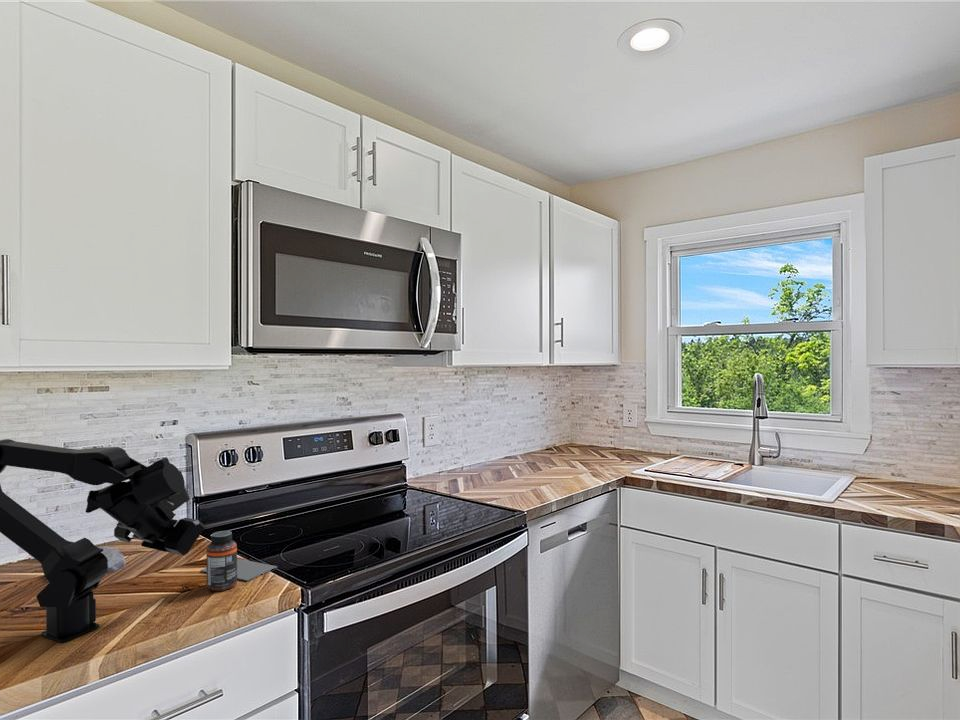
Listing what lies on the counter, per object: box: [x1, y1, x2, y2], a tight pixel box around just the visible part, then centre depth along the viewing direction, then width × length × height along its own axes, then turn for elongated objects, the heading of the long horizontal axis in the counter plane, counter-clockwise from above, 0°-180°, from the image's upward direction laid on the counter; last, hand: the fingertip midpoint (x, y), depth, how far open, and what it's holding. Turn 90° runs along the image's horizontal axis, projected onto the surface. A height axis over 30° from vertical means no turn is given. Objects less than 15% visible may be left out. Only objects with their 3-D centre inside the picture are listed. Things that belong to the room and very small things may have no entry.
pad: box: [200, 558, 278, 582], centre depth 134 cm, size 9×14×1 cm, turn 66°
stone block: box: [97, 546, 126, 575], centre depth 133 cm, size 12×5×10 cm
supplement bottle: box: [206, 530, 238, 592], centre depth 125 cm, size 6×6×11 cm
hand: (185, 552), depth 116 cm, fingers closed
